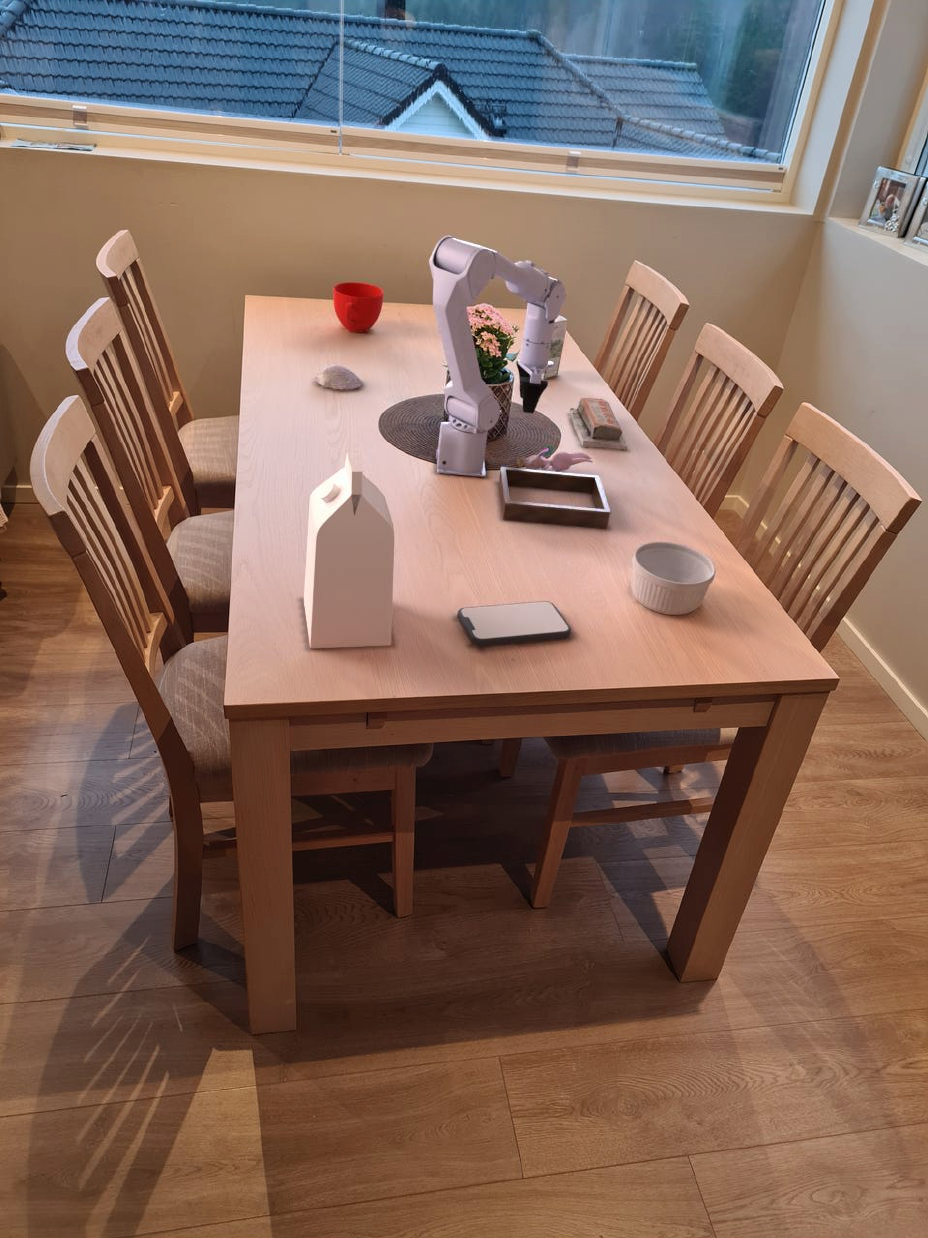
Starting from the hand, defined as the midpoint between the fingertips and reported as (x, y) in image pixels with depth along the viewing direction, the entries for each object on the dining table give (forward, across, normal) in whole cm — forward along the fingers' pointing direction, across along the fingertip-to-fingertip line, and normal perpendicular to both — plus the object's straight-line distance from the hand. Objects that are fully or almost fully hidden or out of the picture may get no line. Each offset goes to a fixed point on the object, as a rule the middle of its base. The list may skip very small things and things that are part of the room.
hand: (526, 404), depth 191 cm
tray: (+9, -25, -4) cm, 27 cm away
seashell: (+8, +25, +40) cm, 48 cm away
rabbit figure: (+10, -10, -6) cm, 15 cm away
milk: (+10, -68, +31) cm, 75 cm away
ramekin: (+10, -54, -20) cm, 58 cm away
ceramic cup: (+10, +64, +39) cm, 76 cm away
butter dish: (+10, +12, -18) cm, 24 cm away
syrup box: (+10, +45, -9) cm, 47 cm away
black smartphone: (+10, -66, +6) cm, 67 cm away
